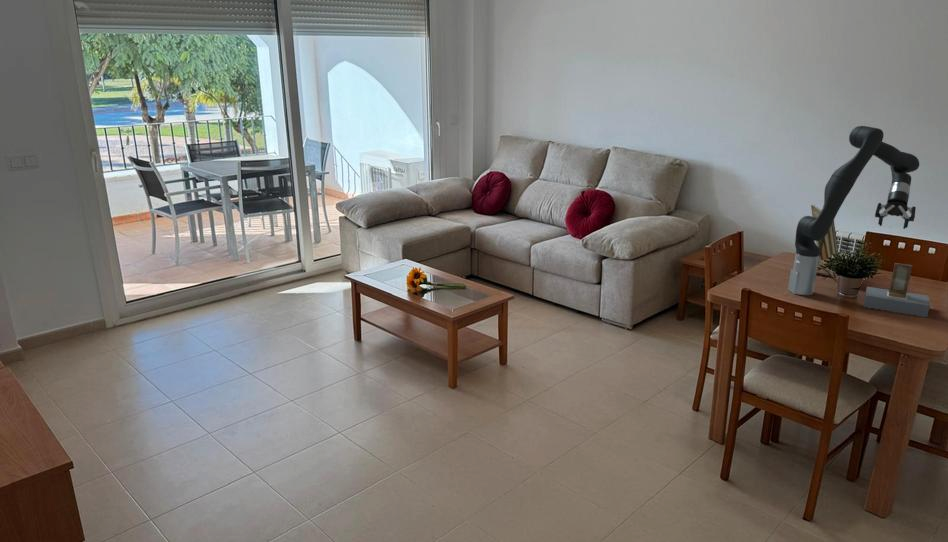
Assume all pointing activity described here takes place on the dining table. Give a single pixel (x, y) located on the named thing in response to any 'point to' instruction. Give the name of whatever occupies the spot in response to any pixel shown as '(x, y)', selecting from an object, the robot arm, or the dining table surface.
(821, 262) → the picture frame
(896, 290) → the walnut frame
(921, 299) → the display step
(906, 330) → the dining table surface
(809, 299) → the dining table surface
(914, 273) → the dining table surface
